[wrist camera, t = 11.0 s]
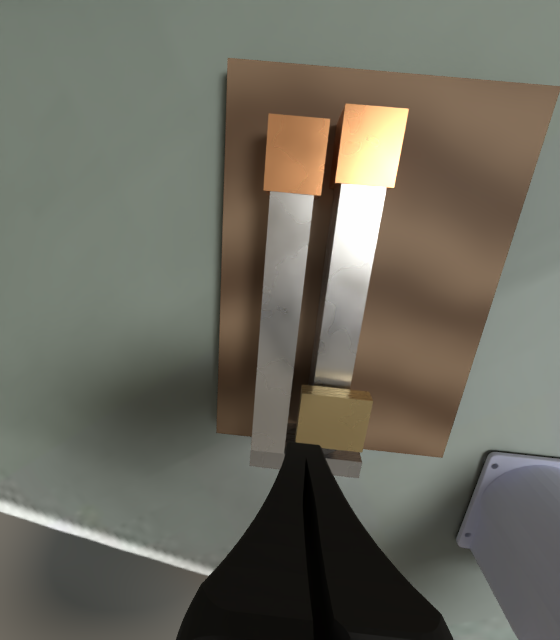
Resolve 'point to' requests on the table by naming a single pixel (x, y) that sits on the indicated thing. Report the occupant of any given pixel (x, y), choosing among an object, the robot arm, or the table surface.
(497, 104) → the board
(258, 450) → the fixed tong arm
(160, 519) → the table surface
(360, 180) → the tong arm
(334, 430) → the tab
